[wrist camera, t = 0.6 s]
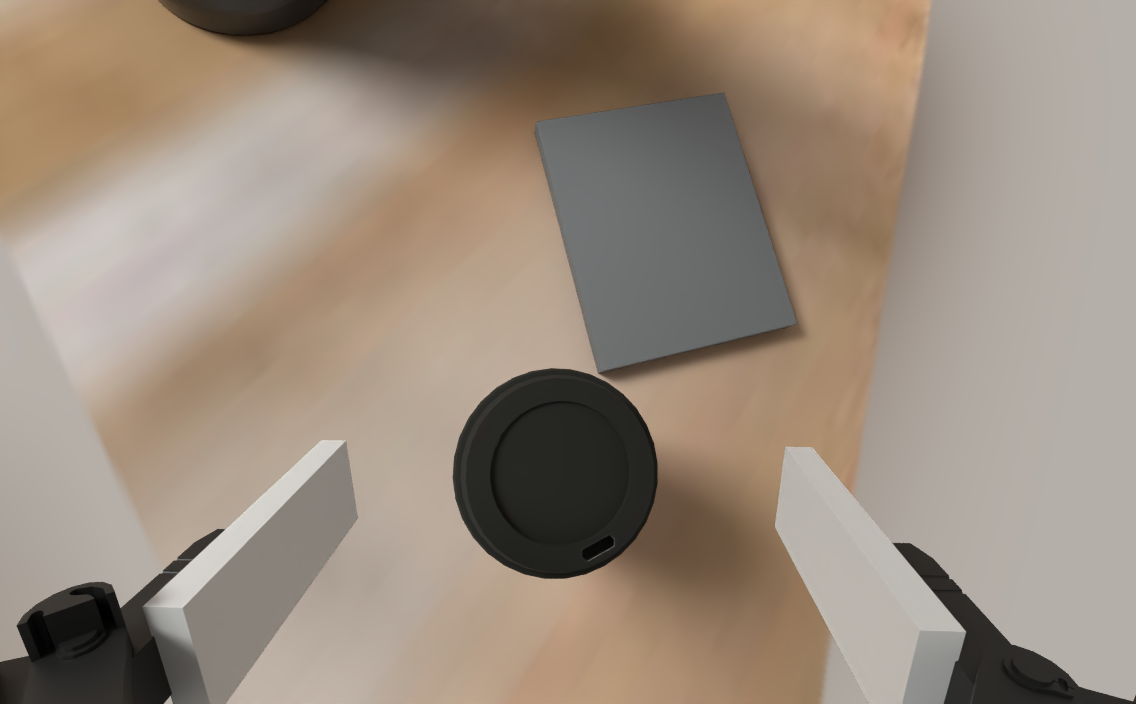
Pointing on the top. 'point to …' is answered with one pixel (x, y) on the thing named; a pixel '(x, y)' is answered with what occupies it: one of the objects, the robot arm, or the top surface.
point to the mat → (662, 229)
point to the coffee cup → (555, 473)
